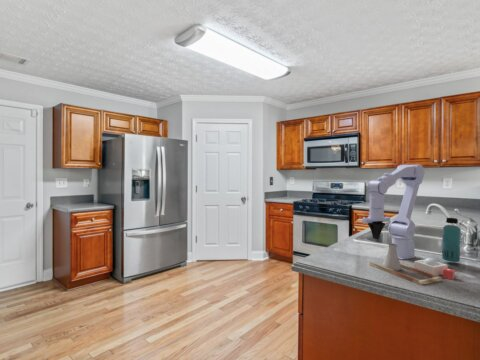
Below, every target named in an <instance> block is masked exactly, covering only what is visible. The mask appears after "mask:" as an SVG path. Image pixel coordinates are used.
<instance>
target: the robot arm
mask: <svg viewBox="0 0 480 360" xmlns="http://www.w3.org/2000/svg"><path fill="white" fill-rule="evenodd" d="M424 176H425V168H424V167H423V165H422V164H419V163H417V164H399V165H398V166H397V167H396V169H395V170H394V171H392V172H391V173H387V172H385V173H383V175H382V176H380V177H377V179H376V180H375V179H374V180H370V181H369V182H368V183H367V186H366V190H367V193H368V197H369V210H368V212H369V214H368V216H367V217H365V218H364V217H363V218H362V219H361V223H362V224H367V225H368V227H369V229H370V232H371V236H372V239H373V240H380V236H381V233H382V231H383V229H384V228H385V226H386V223H385V222H387V223H389V222H390V223H389V225H388V227H387V228H388V229H387V231H388V233H389V235H390V237H391V240H392V241H391V244H396V245H397V247H396V251H397V256H398V259H400V260H408V259H414V258H417V256H416V255H415V251H416V249H415V248H416V247H415V245H416V244H415V241H414V239H413V237H414V236H415V233H416V229H415V228H416V224H415V222H414V221H413V220H412V219H411V218H412V215H413V210H414V207H415V203H416V199H417V196H418V192H419V188H420V185H421V184H422V183H423V180H424ZM399 179H400V180H401V182H402V184H405V190H404V193H403V197H402V200H401V204H400V207H399V211H398V215H397V216H395V217H393V218H392V219H391V217H390V216H385V194H387V192H388V190H389V189H390V188H391V187H392V186H393V185H396V182H397V180H399Z"/></svg>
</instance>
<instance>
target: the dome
mask: <svg viewBox="0 0 480 360" xmlns="http://www.w3.org/2000/svg"><path fill="white" fill-rule="evenodd" d="M423 260H424V262H423V263H424V264H428V265H431V266H437V265H438V264H437V262H438V261H437V260H436V259H435V258H433V257H427V258H425V259H423Z"/></svg>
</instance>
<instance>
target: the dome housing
mask: <svg viewBox="0 0 480 360" xmlns="http://www.w3.org/2000/svg"><path fill="white" fill-rule="evenodd" d="M424 260H425V259H419V260H414V261H413V268H416V269H419V270H421V271H424V272H427V273H430V274H433V275H436V276H443V269H445V268H448V269H449V267H448V264H445V263H443V262H439V261H437V264H438V265H437V266H431V265H428V264H424V263H423V262H424Z"/></svg>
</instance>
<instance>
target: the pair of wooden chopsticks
mask: <svg viewBox="0 0 480 360" xmlns="http://www.w3.org/2000/svg"><path fill="white" fill-rule="evenodd" d="M400 264H401V267H402V269H405V270H407V271H411V272H413V273H416V274H419V275H422V276H424V277H428V278H426V279H418V278H416V277H413V276H410V275H408V274H405V273H402V272H400V271H395V270H392V269H389V268H387V267H384V266H382V265H381V264H378V263H375V262H372V261H369V266H371V267H373V268H376V269H379V270H382V271H384V272H387V273H390V274H391V275H395V276H398V277H400V278H403V279H405V280H408V281H410V282H412V283H416V284H418V285H427V284H432V283H437V282H442V281H443V276H440V275H438V276H436V275H433V274H430V273H427V272H424V271H421V270H419V269H416V268H414V266H413V267H412V266H409V265H407V264H403V263H401V262H400Z"/></svg>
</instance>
